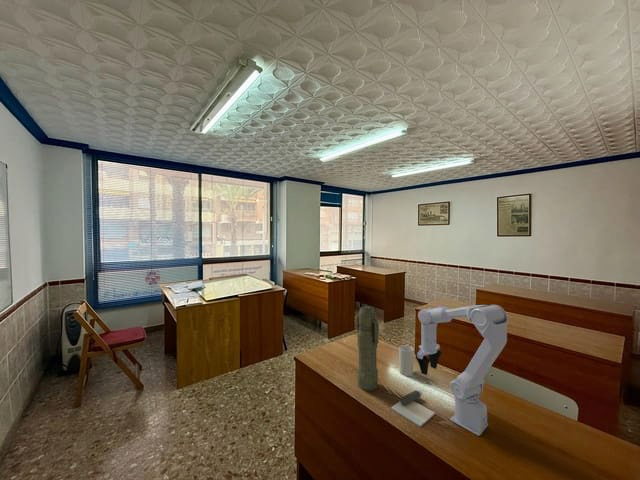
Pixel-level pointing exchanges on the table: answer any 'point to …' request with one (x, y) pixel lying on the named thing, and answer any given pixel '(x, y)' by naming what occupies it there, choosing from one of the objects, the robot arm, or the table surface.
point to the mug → (406, 360)
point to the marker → (410, 397)
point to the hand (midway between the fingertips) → (428, 370)
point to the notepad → (414, 412)
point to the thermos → (367, 348)
